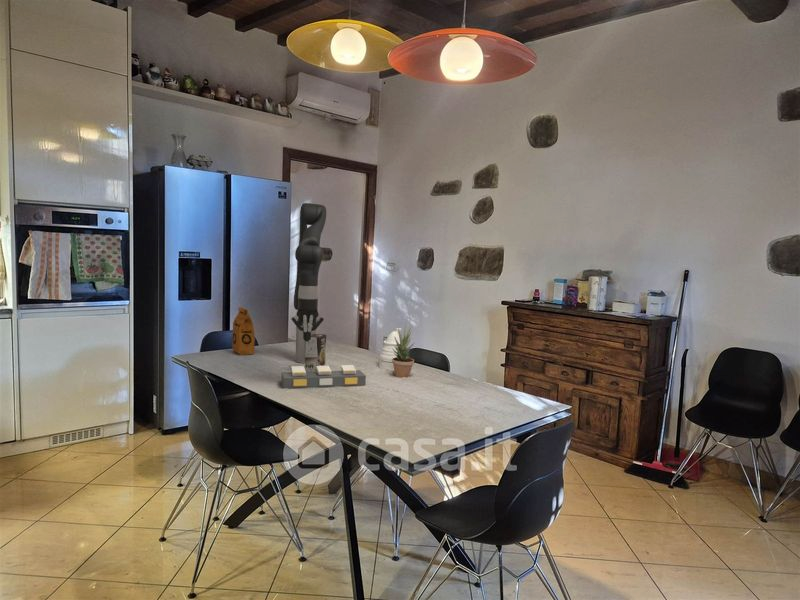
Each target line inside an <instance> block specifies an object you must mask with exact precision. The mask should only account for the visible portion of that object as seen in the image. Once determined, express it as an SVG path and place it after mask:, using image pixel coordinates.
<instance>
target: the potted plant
mask: <svg viewBox="0 0 800 600" xmlns="http://www.w3.org/2000/svg"><path fill="white" fill-rule="evenodd" d="M404 325H405V326H404V331H403V337H402V333H401V332H400V330H399V328H400V327H397V328H398V331H399V333H398V334H399V338H400V344H399V343H398V341H397V340H396V338H395V340H396V343H397V345H396V347H397V346H398V347H397V348H396V347H395V349H396V350H397V352H398V353H397V352H396V351H395V350H394V349H393V348H392V349H393V351H394V352H395V353H396V354H397V355H396V354H395V353H394V352H393V353H394V354H395V355H396V356H397V357H395V358H392V363H393V366H394V370H393V372H394V376H395V377H396V376H397V377H396V378H402V377H405V378H409V377H410V373H411V371H412V367H413V365H415V359H413V358H410V351H411V349H412V348H413V346H414V344H415V342H413V343H412V344H411V345H410V346H409V347H408V345H409V344H410V342H411V339H412V337H411V335H412V332H413V330H411V328H412V325H409V329H408V330H407V322H405V324H404ZM394 337H395V336H394ZM406 357H407V358H406ZM408 376H409V377H408Z"/></svg>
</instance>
